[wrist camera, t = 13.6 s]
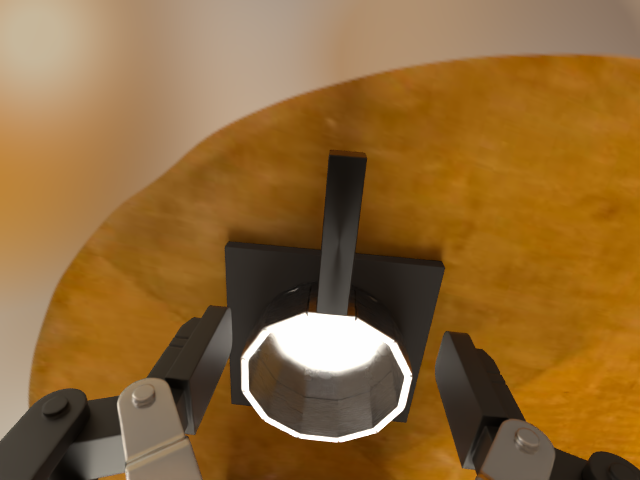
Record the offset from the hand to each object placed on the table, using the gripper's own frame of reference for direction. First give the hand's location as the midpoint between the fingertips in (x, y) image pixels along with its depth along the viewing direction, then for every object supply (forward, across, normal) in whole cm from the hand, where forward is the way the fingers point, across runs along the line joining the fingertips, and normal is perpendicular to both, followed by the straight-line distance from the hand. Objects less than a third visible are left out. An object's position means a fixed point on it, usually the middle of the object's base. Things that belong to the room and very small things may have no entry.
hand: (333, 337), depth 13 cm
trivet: (+13, 0, +11) cm, 17 cm away
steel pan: (+12, 0, +6) cm, 13 cm away
